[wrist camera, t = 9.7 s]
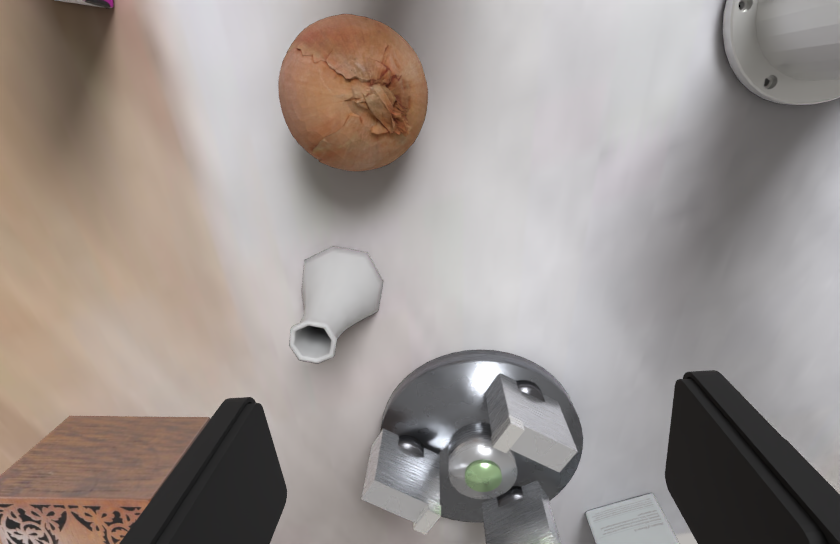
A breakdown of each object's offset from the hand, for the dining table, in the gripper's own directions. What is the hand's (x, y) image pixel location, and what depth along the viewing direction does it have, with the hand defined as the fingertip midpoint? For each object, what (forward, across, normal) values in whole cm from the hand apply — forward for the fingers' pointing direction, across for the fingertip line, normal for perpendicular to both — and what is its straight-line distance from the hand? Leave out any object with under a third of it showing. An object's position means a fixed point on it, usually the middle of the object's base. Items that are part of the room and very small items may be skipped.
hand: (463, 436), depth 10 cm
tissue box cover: (+26, +34, +32) cm, 54 cm away
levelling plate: (+27, 0, +24) cm, 36 cm away
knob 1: (+25, -4, +18) cm, 31 cm away
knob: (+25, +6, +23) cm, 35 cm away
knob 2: (+25, -3, +30) cm, 39 cm away
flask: (+27, +10, +7) cm, 30 cm away
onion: (+27, +6, -8) cm, 29 cm away
